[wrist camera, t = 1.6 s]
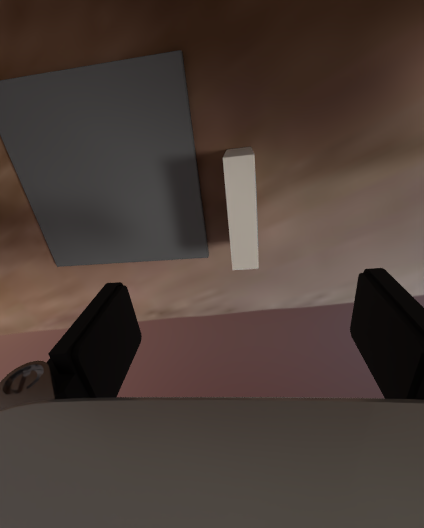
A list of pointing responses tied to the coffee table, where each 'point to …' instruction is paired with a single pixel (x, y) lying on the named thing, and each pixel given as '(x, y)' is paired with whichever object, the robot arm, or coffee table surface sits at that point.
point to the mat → (108, 160)
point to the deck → (241, 207)
